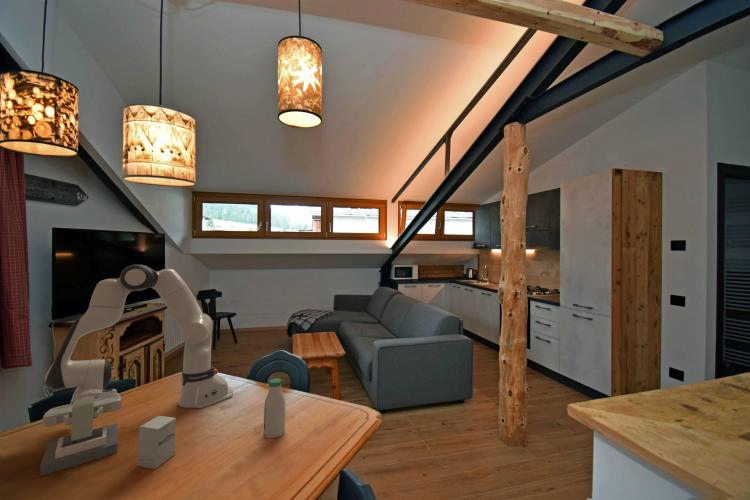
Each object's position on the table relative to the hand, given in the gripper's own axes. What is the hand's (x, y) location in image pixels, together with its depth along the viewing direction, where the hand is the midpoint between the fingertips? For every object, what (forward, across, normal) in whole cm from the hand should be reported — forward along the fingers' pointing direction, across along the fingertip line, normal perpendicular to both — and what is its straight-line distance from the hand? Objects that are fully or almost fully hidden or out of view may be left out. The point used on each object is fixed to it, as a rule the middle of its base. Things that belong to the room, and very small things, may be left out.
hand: (82, 419), depth 104 cm
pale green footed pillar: (-1, 0, +6) cm, 7 cm away
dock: (-1, 0, +12) cm, 12 cm away
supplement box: (+20, +19, +12) cm, 30 cm away
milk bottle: (+29, +55, +12) cm, 63 cm away
